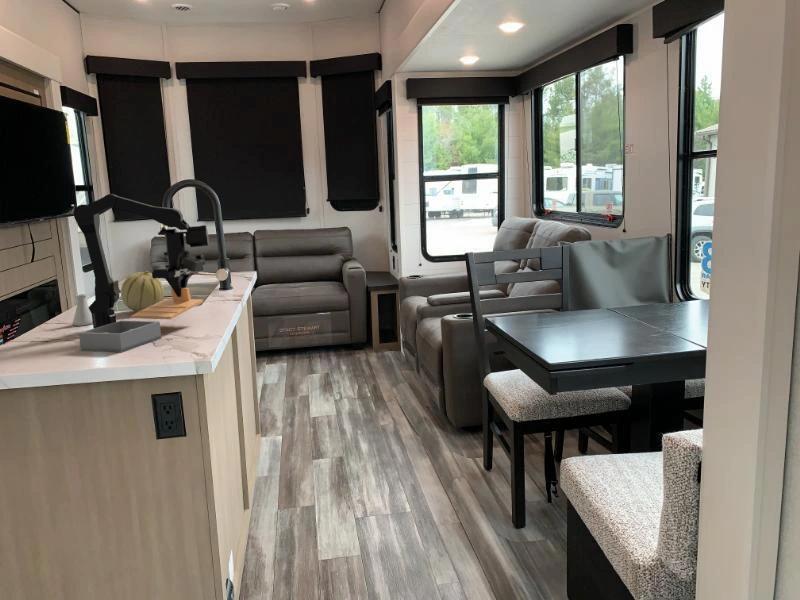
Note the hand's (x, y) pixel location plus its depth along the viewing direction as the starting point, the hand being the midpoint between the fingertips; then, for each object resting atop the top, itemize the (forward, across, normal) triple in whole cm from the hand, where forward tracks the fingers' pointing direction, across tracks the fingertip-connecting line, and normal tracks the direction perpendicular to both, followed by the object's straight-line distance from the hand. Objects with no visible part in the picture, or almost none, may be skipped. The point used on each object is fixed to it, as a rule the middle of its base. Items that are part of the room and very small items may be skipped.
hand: (181, 296), depth 205 cm
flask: (+9, -5, +36) cm, 37 cm away
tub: (+9, -28, 0) cm, 29 cm away
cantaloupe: (+9, +16, +29) cm, 34 cm away
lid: (+3, -7, 0) cm, 7 cm away
